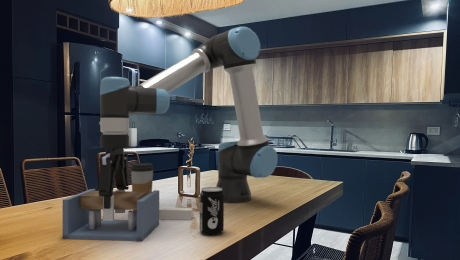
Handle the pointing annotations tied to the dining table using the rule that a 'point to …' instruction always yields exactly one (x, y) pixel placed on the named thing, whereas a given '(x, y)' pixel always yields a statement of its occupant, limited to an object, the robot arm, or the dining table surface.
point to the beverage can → (211, 211)
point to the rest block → (175, 213)
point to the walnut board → (121, 200)
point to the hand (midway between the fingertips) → (114, 216)
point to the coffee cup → (142, 177)
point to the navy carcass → (94, 227)
